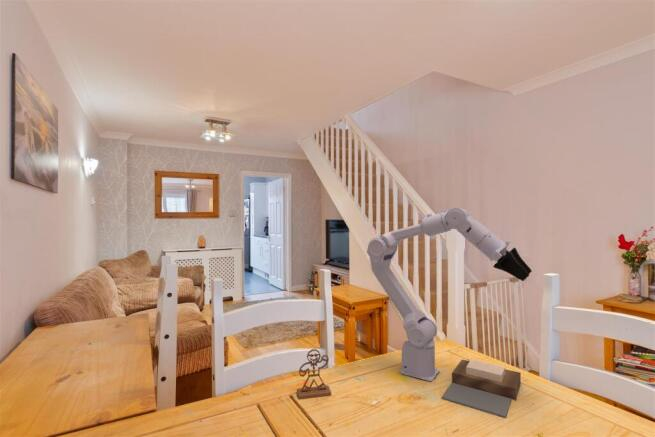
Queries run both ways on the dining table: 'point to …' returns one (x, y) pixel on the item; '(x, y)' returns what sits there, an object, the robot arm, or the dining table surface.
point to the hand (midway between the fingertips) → (527, 276)
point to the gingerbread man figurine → (313, 391)
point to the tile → (485, 370)
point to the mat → (477, 399)
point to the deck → (488, 381)
